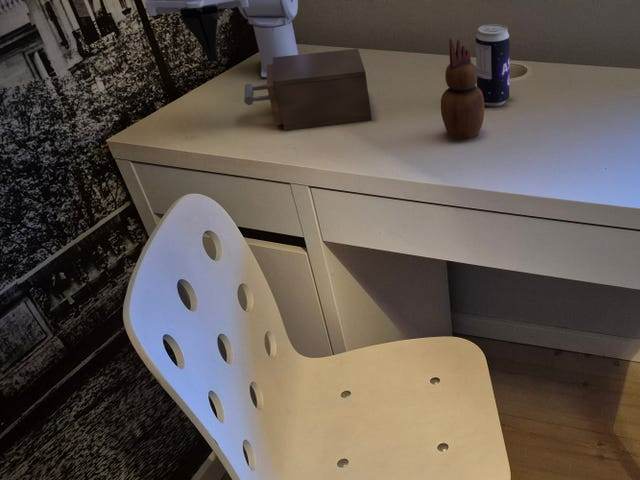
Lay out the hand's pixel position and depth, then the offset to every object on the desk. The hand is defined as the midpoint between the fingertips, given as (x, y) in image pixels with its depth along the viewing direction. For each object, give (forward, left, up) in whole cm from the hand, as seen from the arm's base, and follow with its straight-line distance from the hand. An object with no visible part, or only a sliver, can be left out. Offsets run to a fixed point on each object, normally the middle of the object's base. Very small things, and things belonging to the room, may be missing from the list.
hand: (213, 59), depth 106 cm
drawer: (0, +12, -9) cm, 15 cm away
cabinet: (0, +16, -10) cm, 19 cm away
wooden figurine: (+16, +37, -11) cm, 42 cm away
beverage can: (+4, +45, -11) cm, 46 cm away
